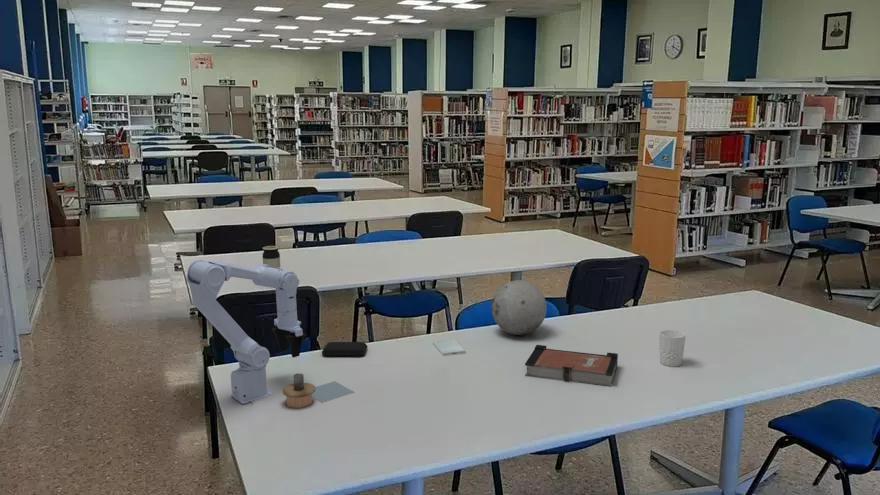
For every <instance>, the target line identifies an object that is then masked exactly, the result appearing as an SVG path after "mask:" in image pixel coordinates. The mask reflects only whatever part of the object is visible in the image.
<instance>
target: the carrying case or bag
mask: <svg viewBox="0 0 880 495" xmlns="http://www.w3.org/2000/svg"><path fill="white" fill-rule="evenodd" d="M367 350H368V345H367V344H366V343H365V342H364V341H329V342H327V343H326V344H325V345H324V347H323V349H322V350H321V354H322V355H323V357H325V358H326V357H327V358H361V357H364V355H365V354H366V353H367Z"/></svg>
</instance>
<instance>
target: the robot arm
mask: <svg viewBox="0 0 880 495" xmlns="http://www.w3.org/2000/svg"><path fill="white" fill-rule="evenodd" d="M186 272H187V273H186V278H185V280H186V282H187V284H188V285H189V290H190V294H191V298H192V303H193V305H194V306H195V307H196V308H197V309H198V311H199V312H200V313H201V314H202V315H203V316H204V317H205V319H206V320H207V321H208V322H209V323H210V324H211V325H212V326H213V327H214V329H216V331H218V333H219V334H220V335H221V336H222V337H223V338H224V339H225V340H226V341H227V342H228V344H229V345H230V347H229V348H230V349H231V350H232V351H233V355H234V358H235V359H236V361H238V365H239V367H238V368H236V369H235V370H232V371H231V373H230V385H231V394H230V396H231V397H232V398H234V400H236V401H237V402H239V403H240V404H243V405H244V404H248V403H251V402H252V401H255V400H259V399H262V398H267V397H269V396H273V394H274V393H273V392H271V391H270V390H268V386H267V385H268V383H267V372H266V370H267V365H268V363H269V361H270V356H271V354H270V351H269V349H267V348H266V347H264V346H261V345H260V344H259V343H258V342H257V341H255V340H254V339H252V338H251V337H250V336H249V335H248V334H247V333H246V332H245V330H243V329H242V327H241V326H240V325H239V324H238V323H237V322H236V320H235V319H233V318H232V316H231V315H230V314H229V313H228V311H227V310H226V309H225V308H224V307H223V306H222V305H221V304H220V303H219V301H217V296H218V295H219V294H220V290H221V288H222V287H223V285H224V283H225V282H228V281H229V280H230V279H231V278H238V279H245V280H251V281H252V282H253V284H254V285H255V286H260V287H266V288H271V289H275V298H276V299H275V300H276V314H277V315H276V316H277V317H276V318H274V319H273V323H274V327H273V328H271V331H272V333H273V335H274V336H275V339H276V341H277V345H278V347H279V350H280V351H282V352H283V351H285V350H288V348H289V350H290V354H291V357H292V358H297V357H300V354H301V350H302V345H303V342H304V340H305V339H306V333H305V332H303V328H301V324H302V321H300V320H298V309H297V308H298V307H297V293H298V292H297V289H298V287H299V285H300V279H298V276H297V274H296V273H295V272H294V271H290V270H286V269H283V267H280V268H279V267H278V268H277V269H276V268H271V267H269V265H266V264H263V263H262V265H261V264H260V265H257V266H256V267H254V268H251V267H248V266H242V265H238V264H234V263H230V262H225V261H224V262H223V261H214V260H213V261H212V260H207V261H205V260H203V259H197V260H194V261H193V262H192V263H191V264H190V265H189V267H188V269H187V271H186ZM290 333H291V334H290Z"/></svg>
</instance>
